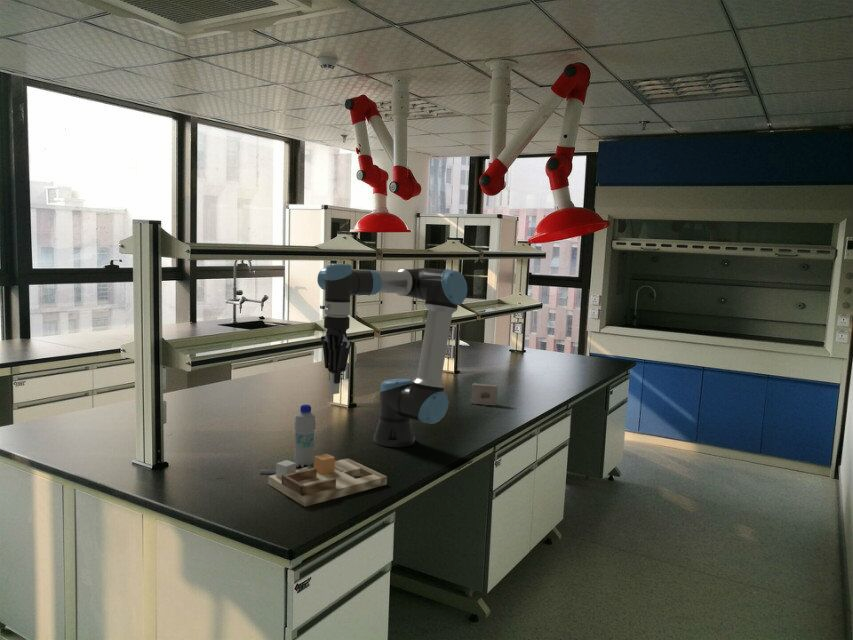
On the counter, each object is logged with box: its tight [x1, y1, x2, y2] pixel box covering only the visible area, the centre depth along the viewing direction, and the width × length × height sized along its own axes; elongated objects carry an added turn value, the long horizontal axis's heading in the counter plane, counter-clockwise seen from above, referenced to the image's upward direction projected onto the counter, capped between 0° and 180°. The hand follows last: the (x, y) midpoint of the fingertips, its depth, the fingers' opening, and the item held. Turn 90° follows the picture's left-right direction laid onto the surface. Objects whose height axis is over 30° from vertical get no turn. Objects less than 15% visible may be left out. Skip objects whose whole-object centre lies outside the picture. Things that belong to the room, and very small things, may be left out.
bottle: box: [293, 404, 317, 469], centre depth 206 cm, size 7×7×20 cm
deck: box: [267, 457, 388, 507], centre depth 192 cm, size 28×20×3 cm
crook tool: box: [259, 469, 276, 475], centre depth 198 cm, size 10×4×1 cm, turn 97°
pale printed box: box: [470, 382, 498, 406], centre depth 301 cm, size 12×4×10 cm, turn 81°
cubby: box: [282, 468, 336, 496], centre depth 184 cm, size 11×11×2 cm
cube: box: [313, 453, 336, 475], centre depth 196 cm, size 4×4×4 cm
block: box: [275, 459, 297, 478], centre depth 190 cm, size 4×4×4 cm
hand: (334, 393), depth 195 cm, fingers closed
